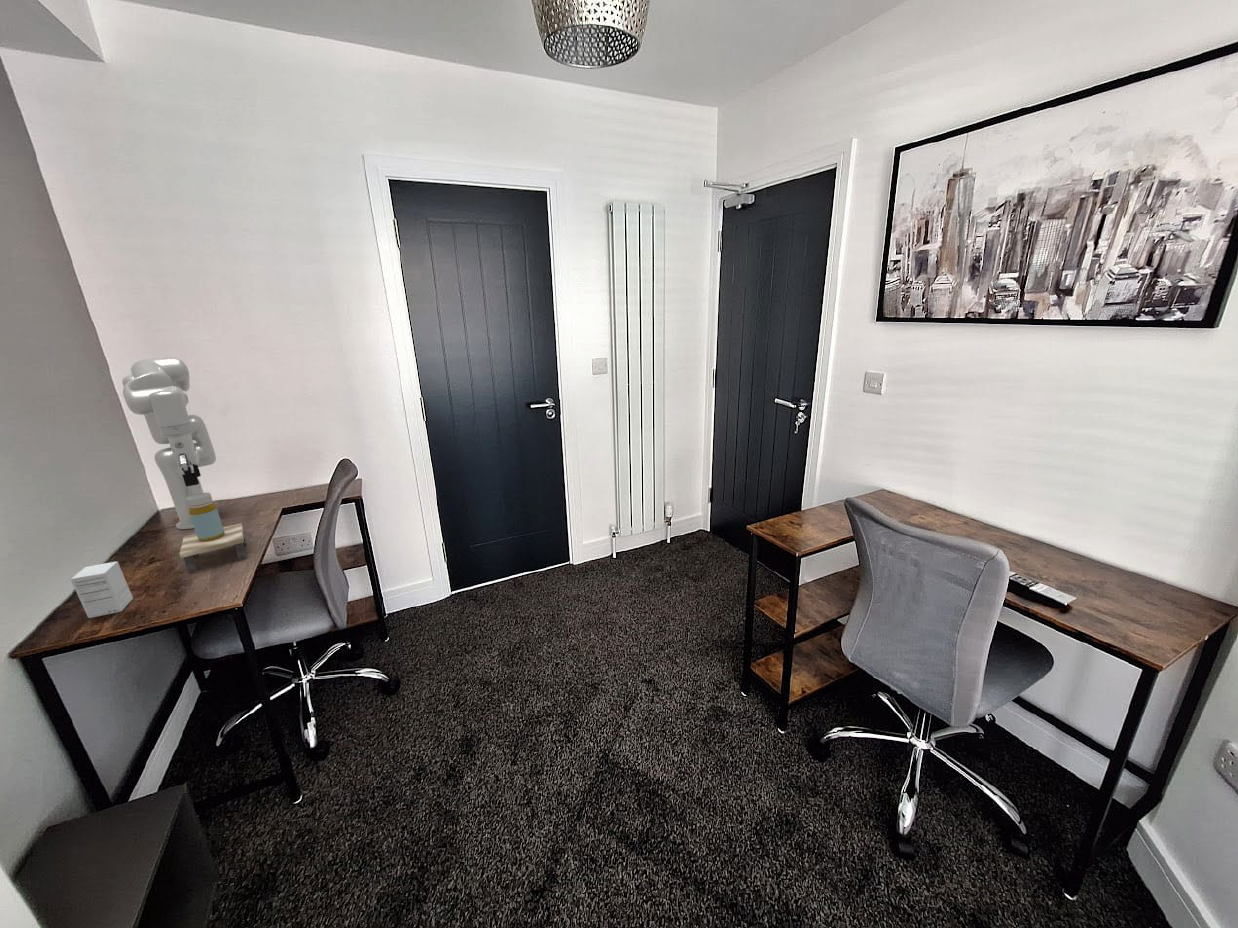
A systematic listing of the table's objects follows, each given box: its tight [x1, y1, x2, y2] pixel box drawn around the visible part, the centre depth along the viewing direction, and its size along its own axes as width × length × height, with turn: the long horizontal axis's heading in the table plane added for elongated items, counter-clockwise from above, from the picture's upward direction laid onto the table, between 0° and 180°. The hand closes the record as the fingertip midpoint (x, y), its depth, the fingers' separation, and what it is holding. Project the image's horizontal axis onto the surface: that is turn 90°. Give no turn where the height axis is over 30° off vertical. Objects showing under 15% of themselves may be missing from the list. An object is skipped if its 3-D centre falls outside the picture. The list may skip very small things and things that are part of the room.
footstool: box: [179, 522, 247, 574], centre depth 164 cm, size 16×16×8 cm
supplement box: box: [70, 561, 134, 619], centre depth 136 cm, size 7×7×13 cm
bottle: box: [186, 492, 225, 541], centre depth 161 cm, size 7×7×15 cm
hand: (193, 481), depth 157 cm, fingers open, 9 cm apart
